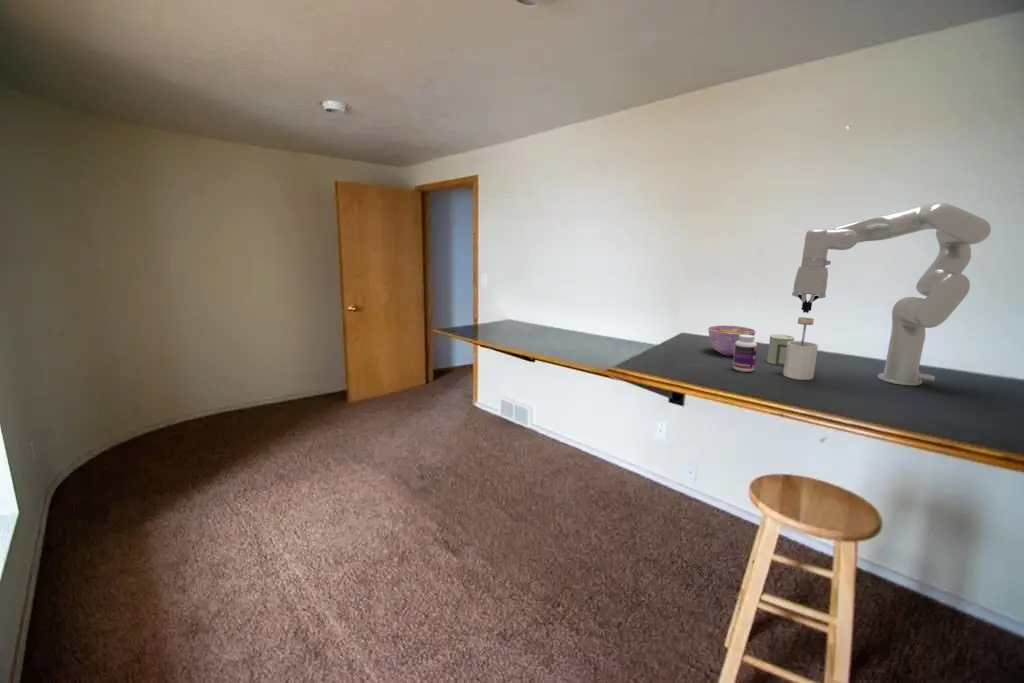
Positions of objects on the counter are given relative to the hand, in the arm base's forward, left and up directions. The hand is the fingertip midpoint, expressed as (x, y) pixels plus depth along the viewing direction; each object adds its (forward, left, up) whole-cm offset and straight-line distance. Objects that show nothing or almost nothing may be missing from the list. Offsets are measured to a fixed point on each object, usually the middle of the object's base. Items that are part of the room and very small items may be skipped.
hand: (805, 312), depth 170 cm
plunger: (0, 0, -16) cm, 16 cm away
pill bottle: (+19, +3, -26) cm, 32 cm away
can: (+9, -18, -26) cm, 33 cm away
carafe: (+1, 0, -25) cm, 25 cm away
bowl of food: (+30, -22, -26) cm, 45 cm away
